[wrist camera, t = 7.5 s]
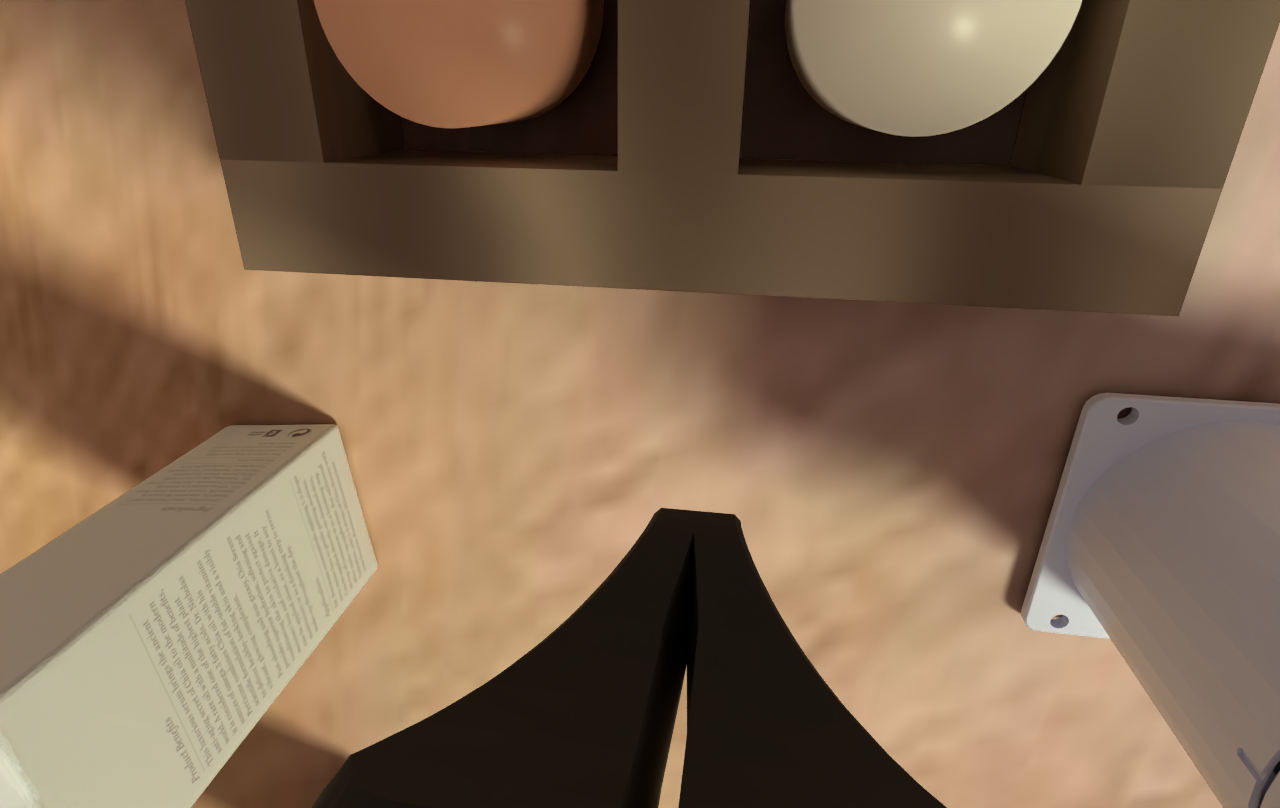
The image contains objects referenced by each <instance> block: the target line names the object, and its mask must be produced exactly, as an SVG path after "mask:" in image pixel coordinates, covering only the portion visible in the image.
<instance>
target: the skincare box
mask: <svg viewBox="0 0 1280 808" xmlns="http://www.w3.org/2000/svg"><path fill="white" fill-rule="evenodd" d="M377 568H378V564H377V561H376V557H375V554H374V551H373V548H372V544H371V541H370V537H369V534H368V530H367V527H366V523H365V520H364V516H363V513H362V509H361V506H360V502H359V499H358V496H357V492H356V489H355V485H354V482H353V478H352V474H351V471H350V468H349V464H348V460H347V457H346V453H345V450H344V447H343V443H342V440H341V436H340V432H339V428H338V426H337V425H334V424H308V425H232V426H228V427H225V428H224V429H222V430H221V431H219V432H218V433H216V434H215V435H213V436H212V437H210V438H209V439H207V440H206V441H204V442H203V443H201V444H199V445H198V446H196V447H195V448H193V449H192V450H190V451H189V452H187V453H186V454H184V455H183V456H181V457H179V458H178V459H176V460H175V461H173V462H172V463H170V464H169V465H167V466H166V467H164V468H162V469H161V470H159V471H158V472H156V473H155V474H153V475H152V476H150V477H149V478H147V479H146V480H144V481H143V482H141V483H140V484H138V485H136V486H135V487H133V488H132V489H130V490H129V491H127V492H126V493H124V494H123V495H121V496H120V497H118V498H117V499H115V500H114V501H112V502H111V503H109V504H107V505H106V506H104V507H103V508H101V509H100V510H98V511H97V512H95V513H94V514H92V515H91V516H89V517H88V518H86V519H84V520H83V521H81V522H80V523H78V524H77V525H75V526H74V527H72V528H71V529H69V530H68V531H66V532H65V533H63V534H61V535H60V536H58V537H57V538H55V539H54V540H52V541H51V542H49V543H48V544H46V545H45V546H43V547H42V548H40V549H38V550H37V551H36V552H34V553H33V554H31V555H30V556H28V557H27V558H25V559H23V560H22V561H20V562H19V563H17V564H16V565H14V566H12V567H11V568H9V569H8V570H6V571H5V572H3V573H2V574H0V808H191V807H192V806H193V804H194V803H195V802H196V800H197V799H198V798H199V797H200V795H201V794H202V793H203V792H204V790H205V789H206V788H207V787H208V785H209V784H210V783H211V781H212V780H213V779H214V777H215V776H216V775H217V774H218V772H219V771H220V770H221V768H222V767H223V766H224V765H225V763H226V762H227V761H228V760H229V758H230V757H231V756H232V754H233V753H234V752H235V750H236V749H237V748H238V746H239V745H240V744H241V743H242V741H243V740H244V739H245V738H246V736H247V735H248V734H249V733H250V731H251V730H252V729H253V728H254V726H255V725H256V724H257V722H258V721H259V720H260V719H261V717H262V716H263V715H264V713H265V712H266V711H267V710H268V708H269V707H270V706H271V704H272V703H273V702H274V701H275V699H276V698H277V697H278V695H279V694H280V693H281V692H282V690H283V689H284V688H285V686H286V685H287V684H288V683H289V681H290V680H291V679H292V677H293V676H294V675H295V674H296V672H297V671H298V670H299V669H300V667H301V666H302V665H303V663H304V662H305V661H306V660H307V658H308V657H309V656H310V654H311V653H312V652H313V651H314V649H315V648H316V647H317V645H318V644H319V643H320V642H321V640H322V639H323V638H324V636H325V635H326V634H327V633H328V631H329V630H330V629H331V627H332V626H333V625H334V624H335V622H336V621H337V620H338V619H339V617H340V616H341V615H342V613H343V612H344V611H345V610H346V608H347V607H348V606H349V605H350V603H351V602H352V601H353V599H354V598H355V597H356V596H357V594H358V593H359V592H360V590H361V589H362V588H363V587H364V585H365V584H366V583H367V581H368V580H369V579H370V577H371V576H372V575H373V574H374V572H375V571H376V569H377Z"/></svg>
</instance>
